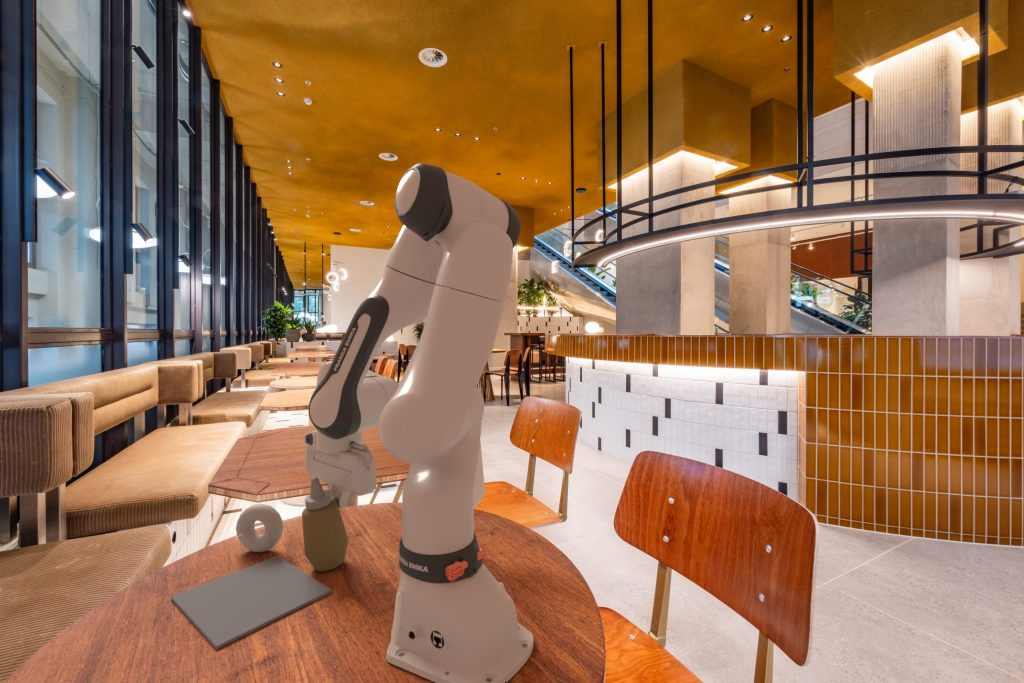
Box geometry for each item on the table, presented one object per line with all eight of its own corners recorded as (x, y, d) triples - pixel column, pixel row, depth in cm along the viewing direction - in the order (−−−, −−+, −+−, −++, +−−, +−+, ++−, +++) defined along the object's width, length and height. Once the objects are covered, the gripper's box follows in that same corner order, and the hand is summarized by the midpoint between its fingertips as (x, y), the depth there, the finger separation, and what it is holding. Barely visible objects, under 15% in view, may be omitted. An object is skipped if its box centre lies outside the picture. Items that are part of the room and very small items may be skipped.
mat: (331, 592, 78) (331, 589, 78) (216, 649, 64) (216, 646, 64) (278, 558, 90) (278, 555, 90) (171, 599, 76) (171, 596, 76)
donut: (286, 548, 94) (286, 502, 94) (276, 556, 91) (276, 508, 91) (243, 546, 96) (243, 500, 95) (232, 553, 92) (231, 506, 92)
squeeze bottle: (341, 574, 84) (325, 486, 81) (300, 578, 84) (282, 490, 81) (357, 548, 92) (343, 467, 89) (319, 551, 92) (303, 470, 89)
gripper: (384, 443, 85) (384, 514, 85) (327, 429, 98) (327, 491, 98) (355, 449, 80) (355, 525, 80) (299, 434, 93) (299, 499, 93)
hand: (339, 506), depth 89 cm, fingers closed
